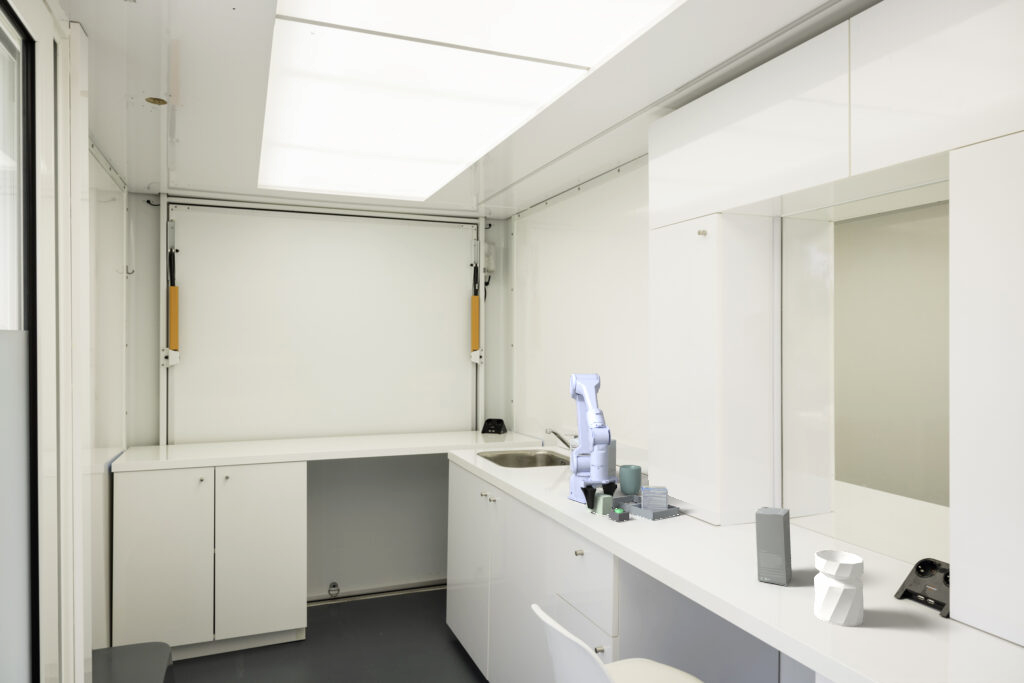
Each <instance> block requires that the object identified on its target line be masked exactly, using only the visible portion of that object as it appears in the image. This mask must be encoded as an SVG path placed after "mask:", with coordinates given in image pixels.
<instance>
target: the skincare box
mask: <svg viewBox="0 0 1024 683" xmlns="http://www.w3.org/2000/svg"><path fill="white" fill-rule="evenodd" d="M754 515H755V516H754V517H755V518H754V519H755V538H756V540H755V541H756V542H755V543H756V559H757V560H756V564H757V580H758V581H759V582H764V583H769V584H775V585H780V586H784V587H787V586H788V584H789V582H790V581H791V579H792V576H793V573H792V572H793V571H792V549H791V547H792V544H791V526H790V525H791V524H790V519H791V518H790V515H791V514H790V509H788V508H782V507H781V508H780V507H779V508H778V507H769V506H761V508H758V509H757V511H756V512H755V514H754Z"/></svg>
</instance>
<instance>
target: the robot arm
mask: <svg viewBox="0 0 1024 683" xmlns="http://www.w3.org/2000/svg"><path fill="white" fill-rule="evenodd" d="M600 389H601V377H600V375H599V373H572V374H571V375H570V378H569V391H570V392H569V394H570V398H571V399H573V400H574V401H575V406H576V420H577V421H576V422H577V438H578V441H579V446H578V447H577V448H576V449H575V450H574V451H573V452H572V454H571V470H572V472H573V473H574V474H572V476H571V478H570V477H569V496H567V499H569V500H572V501H575V502H578V503H581V504H586V503H587V507H588V508H589V509H593V508H594V497H595V493H596V492H597V489H598V488H596V485H602V487H601V488H602V492H603V494H607V495H610V496H612V498H614V497H613V496H614V494H615V492H616V490H617V489H618V483H619V477H618V476H617V475H616V476H608V445H610V443H611V439H612V433H611V429H610V427H609V426H608V424H606V420H605V416H604V411H603V410H602V409H601V408H599V402H598V393H599V390H600ZM577 455H590V456H577ZM615 483H616V484H615Z"/></svg>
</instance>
